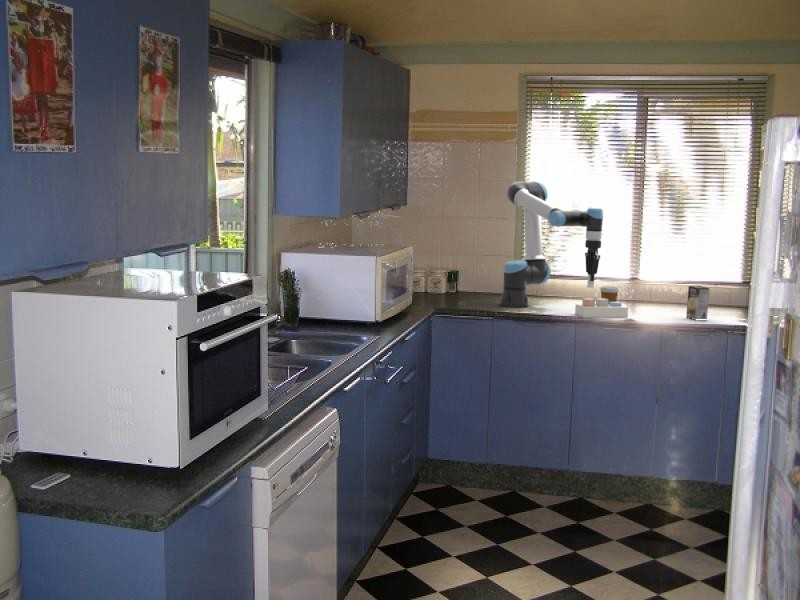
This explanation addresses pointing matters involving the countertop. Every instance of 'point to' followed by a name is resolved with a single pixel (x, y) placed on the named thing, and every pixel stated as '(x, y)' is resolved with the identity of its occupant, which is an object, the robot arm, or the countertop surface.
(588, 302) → the key terracotta
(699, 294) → the coffee box
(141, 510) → the countertop surface
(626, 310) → the keypad base
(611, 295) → the disposable coffee cup
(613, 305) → the key blue
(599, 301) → the key grey
